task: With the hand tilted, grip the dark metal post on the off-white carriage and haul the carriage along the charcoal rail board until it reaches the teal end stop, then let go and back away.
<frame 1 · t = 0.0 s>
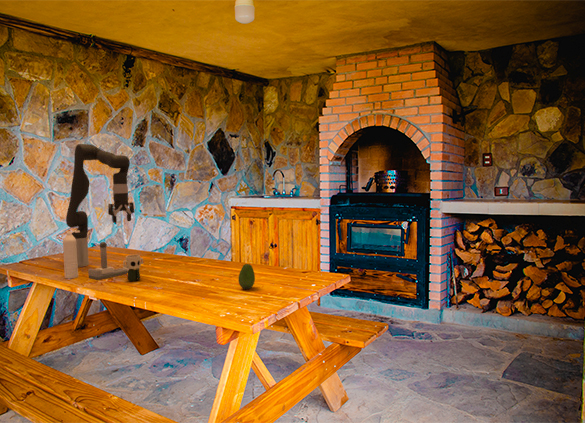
hand: (122, 221, 233), 29 cm above the table, tool pointing down, fingers open, 8 cm apart
carriage: (103, 257, 230), point 11 cm above the table, slide at -6.0 cm
toy figurine: (134, 280, 222), on the table
rail board: (114, 274, 236), on the table
water bottle: (73, 277, 231), on the table
fruit: (246, 289, 203), on the table
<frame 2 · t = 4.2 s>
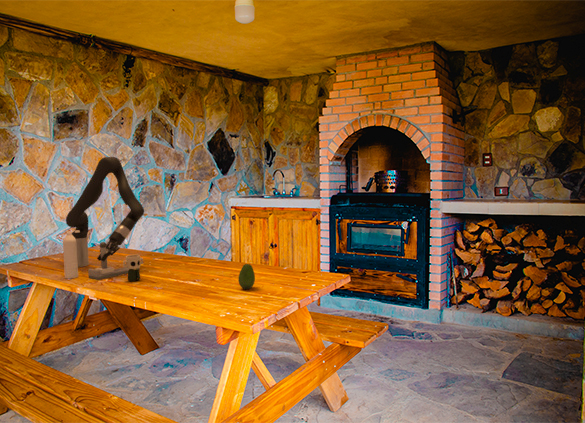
hand: (100, 260, 228), 9 cm above the table, tool tilted 45°, fingers closed on carriage, 3 cm apart
carriage: (103, 257, 230), point 11 cm above the table, slide at -6.0 cm, touching gripper
everything else where it was.
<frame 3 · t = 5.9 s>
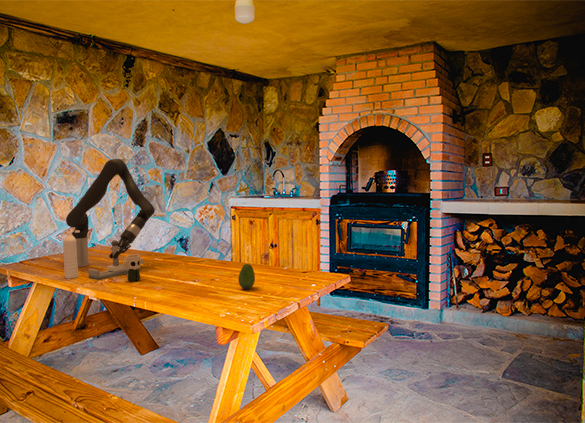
hand: (112, 257, 234), 9 cm above the table, tool tilted 45°, fingers closed on carriage, 3 cm apart
carriage: (115, 254, 236), point 11 cm above the table, slide at 1.0 cm, touching gripper
everything else where it was.
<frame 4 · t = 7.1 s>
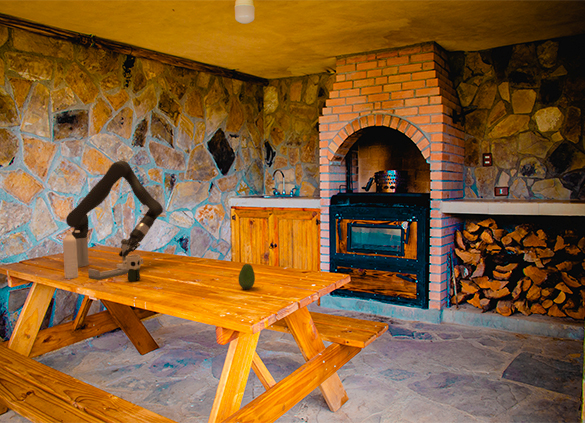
hand: (122, 256, 239), 9 cm above the table, tool tilted 45°, fingers closed on carriage, 3 cm apart
carriage: (125, 253, 240), point 11 cm above the table, slide at 6.9 cm, touching gripper
everything else where it was.
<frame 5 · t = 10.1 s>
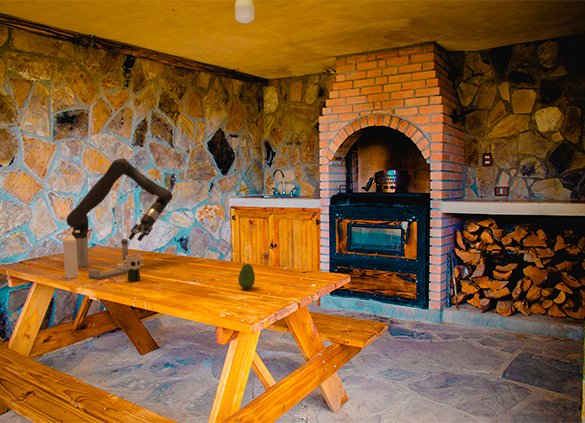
hand: (134, 239, 245), 18 cm above the table, tool tilted 45°, fingers open, 8 cm apart
carriage: (125, 253, 241), point 11 cm above the table, slide at 7.0 cm
everything else where it was.
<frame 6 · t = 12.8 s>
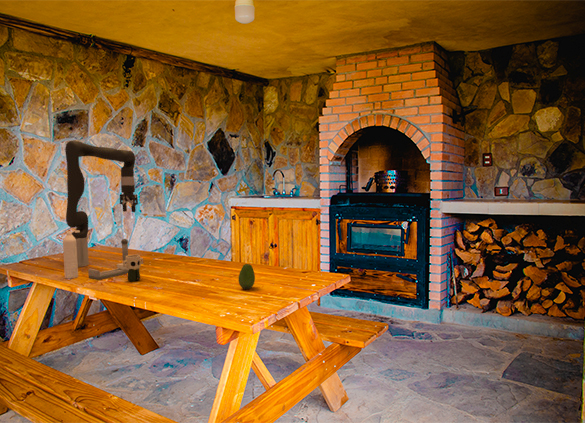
hand: (129, 211, 253), 33 cm above the table, tool pointing down, fingers open, 8 cm apart
nothing on the table moved.
at the end: carriage slide at 7.0 cm; the gripper is holding nothing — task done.
